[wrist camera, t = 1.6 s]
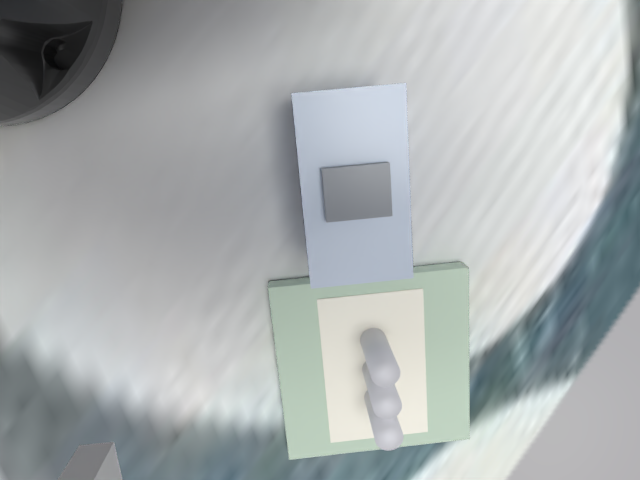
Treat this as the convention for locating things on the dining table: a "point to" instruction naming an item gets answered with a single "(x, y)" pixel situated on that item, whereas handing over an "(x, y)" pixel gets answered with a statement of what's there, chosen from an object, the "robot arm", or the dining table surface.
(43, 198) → the dining table surface
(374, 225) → the plug
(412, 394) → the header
